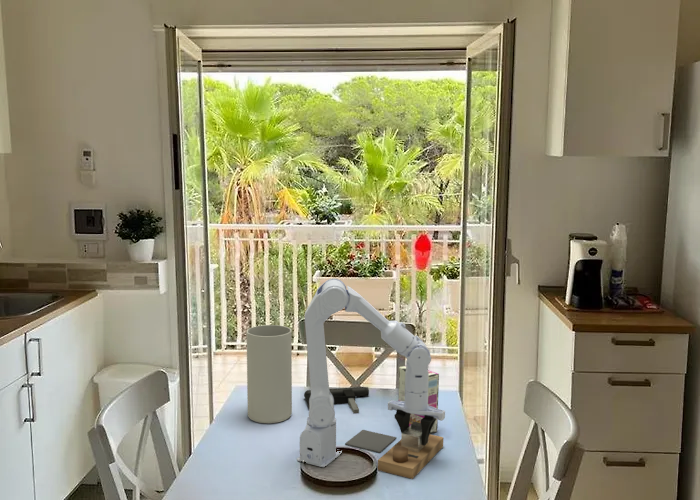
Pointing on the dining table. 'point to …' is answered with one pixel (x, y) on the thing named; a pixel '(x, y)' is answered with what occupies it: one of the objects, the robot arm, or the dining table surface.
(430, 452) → the wooden board with knob
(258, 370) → the cylinder vase
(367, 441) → the mat
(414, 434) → the off-white rectangular block
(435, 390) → the candy bar box
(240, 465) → the dining table surface
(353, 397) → the black two-tone device
